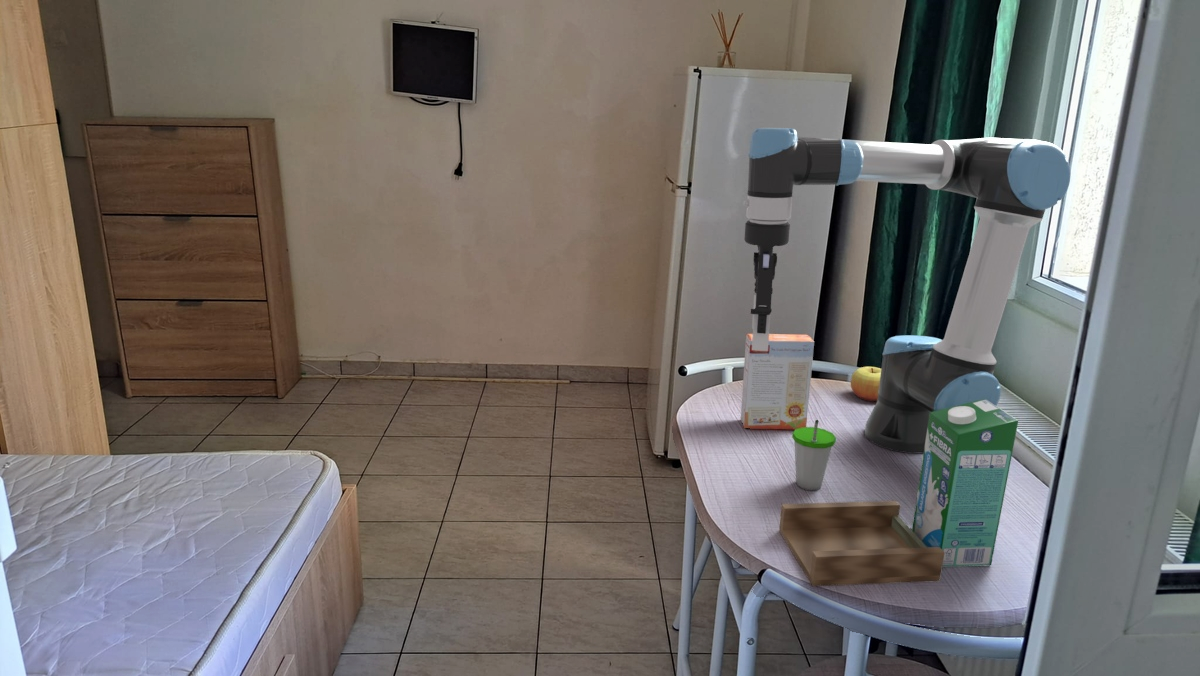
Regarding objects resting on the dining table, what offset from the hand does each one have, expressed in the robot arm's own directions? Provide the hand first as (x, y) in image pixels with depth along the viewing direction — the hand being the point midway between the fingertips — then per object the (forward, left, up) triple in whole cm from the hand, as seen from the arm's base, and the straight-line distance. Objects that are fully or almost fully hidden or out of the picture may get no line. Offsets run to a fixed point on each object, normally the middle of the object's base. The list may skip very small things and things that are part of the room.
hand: (759, 339), depth 140 cm
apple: (-44, -44, -29) cm, 68 cm away
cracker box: (-14, -28, -29) cm, 43 cm away
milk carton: (-27, +25, -29) cm, 47 cm away
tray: (-11, +25, -29) cm, 40 cm away
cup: (-12, +1, -29) cm, 31 cm away
